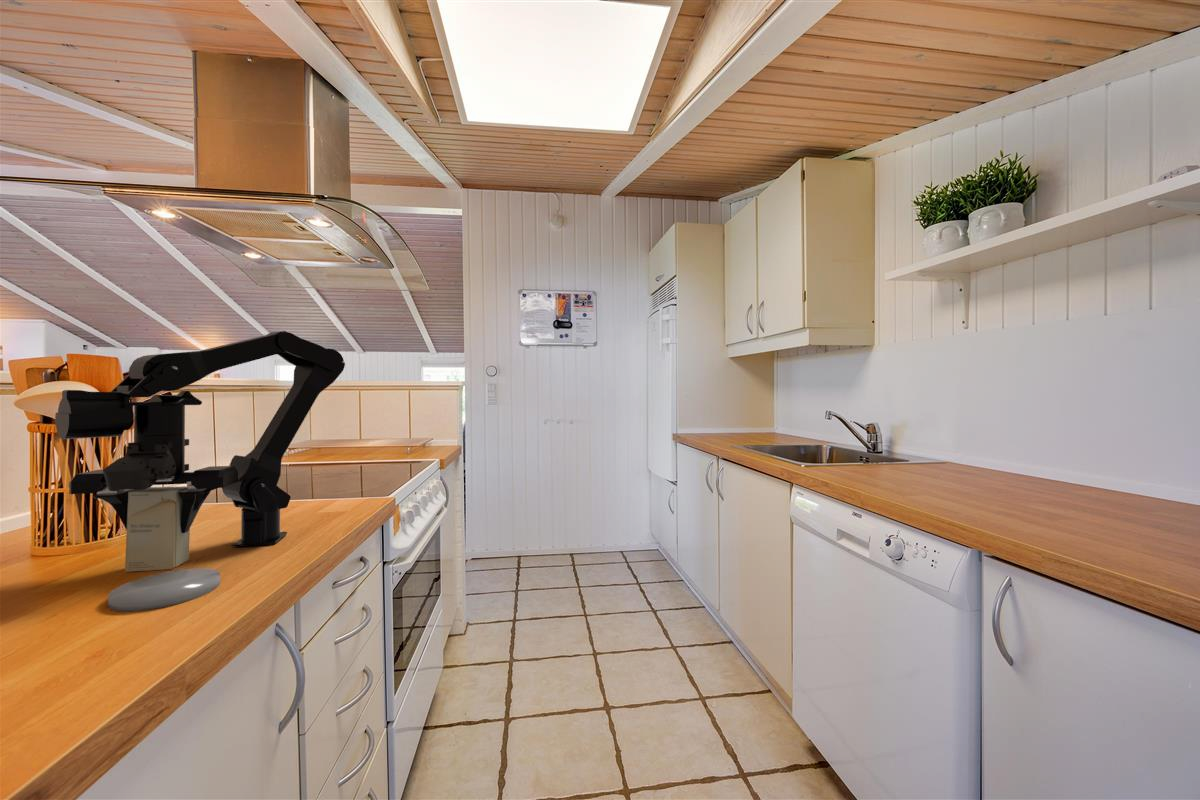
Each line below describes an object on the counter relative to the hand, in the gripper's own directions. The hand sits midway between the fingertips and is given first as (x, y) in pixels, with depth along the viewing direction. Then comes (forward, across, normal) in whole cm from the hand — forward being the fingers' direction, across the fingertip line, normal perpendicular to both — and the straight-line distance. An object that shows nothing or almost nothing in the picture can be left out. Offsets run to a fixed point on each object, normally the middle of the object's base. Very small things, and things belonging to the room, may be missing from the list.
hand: (159, 534), depth 71 cm
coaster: (+5, +7, -12) cm, 15 cm away
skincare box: (+5, 0, 0) cm, 5 cm away
